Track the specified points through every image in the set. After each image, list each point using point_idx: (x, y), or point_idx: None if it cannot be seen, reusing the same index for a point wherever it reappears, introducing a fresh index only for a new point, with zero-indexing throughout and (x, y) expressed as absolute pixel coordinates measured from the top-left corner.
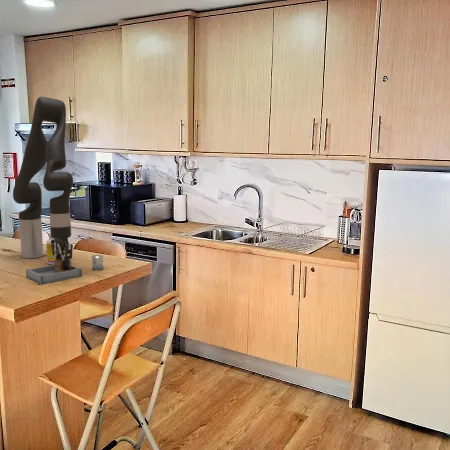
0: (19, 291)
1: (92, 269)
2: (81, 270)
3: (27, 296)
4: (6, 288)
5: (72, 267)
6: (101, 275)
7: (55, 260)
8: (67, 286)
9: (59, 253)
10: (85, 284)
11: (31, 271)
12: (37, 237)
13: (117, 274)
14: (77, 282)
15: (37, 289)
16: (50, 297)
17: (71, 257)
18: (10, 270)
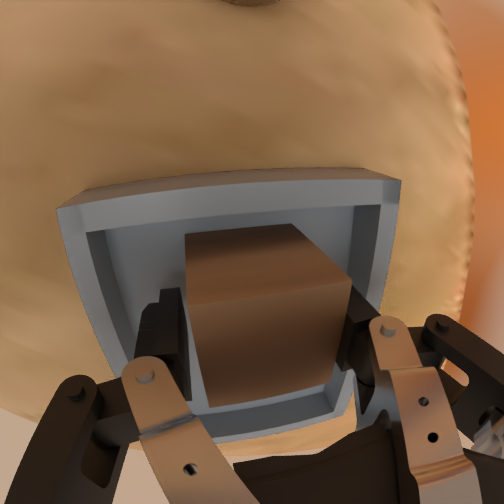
0: (337, 427)
1: (235, 3)
2: (390, 178)
3: None
4: (276, 451)
5: (271, 207)
6: (416, 68)
7: (235, 402)
8: (430, 304)
9: (142, 409)
10: (464, 233)
11: (216, 441)
12: None
13: (437, 12)
14: (428, 249)
15: None
16: (446, 360)
17: (451, 325)
18: (18, 406)
